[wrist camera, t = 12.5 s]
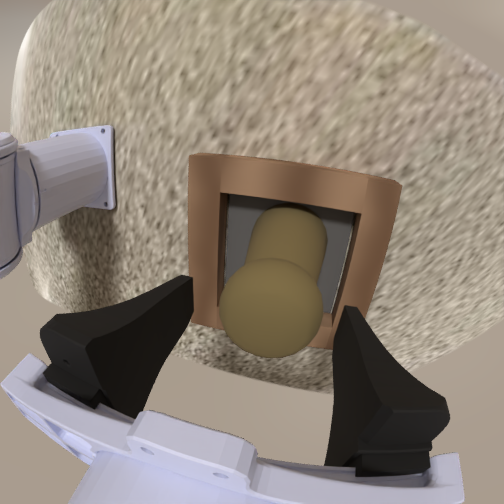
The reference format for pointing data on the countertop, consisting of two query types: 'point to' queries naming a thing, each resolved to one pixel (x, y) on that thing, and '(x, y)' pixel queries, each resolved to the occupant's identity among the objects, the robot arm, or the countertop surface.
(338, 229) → the holder
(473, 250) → the countertop surface
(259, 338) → the cork
